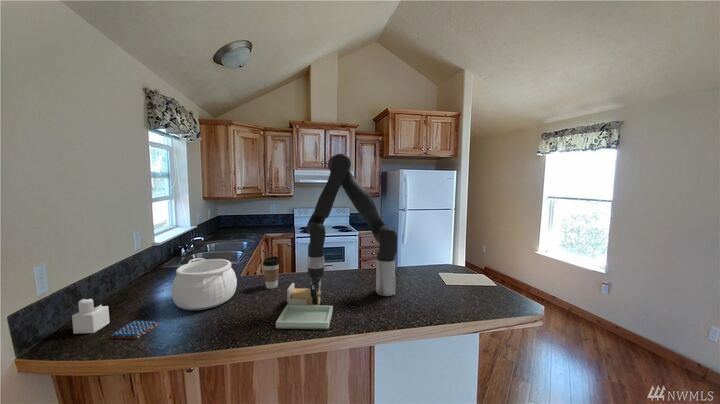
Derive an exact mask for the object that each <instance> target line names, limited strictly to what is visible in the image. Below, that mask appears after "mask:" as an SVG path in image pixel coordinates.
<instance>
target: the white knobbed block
mask: <svg viewBox="0 0 720 404" xmlns="http://www.w3.org/2000/svg"><path fill="white" fill-rule="evenodd" d="M109 311H110V310H109V305H102V296H100V295H92V296H87V297H83V298H82V299H80V300H79V301H78V312H76V313H74V314H72V315H71V319H72V330H73V331H72V332H73V334H75V335H77V334H94V333H96V332H98V331H99V330H101V329H103V328H104V327H106V326H107V325H108V324H110V312H109Z"/></svg>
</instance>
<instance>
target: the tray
mask: <svg viewBox="0 0 720 404" xmlns="http://www.w3.org/2000/svg"><path fill="white" fill-rule="evenodd" d="M333 312H334V306H333V305H320V304H319V305H288V304H287V305H286V306H285V307H284V308H283V310H282V312H281V313H280V315H279V316H278V318H277V320H276V321H275V329H281V330H282V329H284V330H285V329H289V330H290V329H291V330H292V329H294V330H296V329H297V330H299V329H300V330H329V328H330V324H331V319H332V316H333Z"/></svg>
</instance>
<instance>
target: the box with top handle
mask: <svg viewBox="0 0 720 404" xmlns="http://www.w3.org/2000/svg"><path fill="white" fill-rule="evenodd" d="M322 293H323V292H322V291H321V288H320V289H319V291H318V303H317V305H320V304H321V295H322ZM313 294H315V293H313ZM292 299H307V305H313V304H312V297H311V290H310V288H296V287H295V289H294V290H293V292H292Z"/></svg>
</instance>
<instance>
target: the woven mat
mask: <svg viewBox="0 0 720 404" xmlns="http://www.w3.org/2000/svg"><path fill="white" fill-rule="evenodd" d="M158 325H159V321H158V320H136V319H135V320H134V321H131V322H130V323H128V324H126V325H124V326H123V327H121V328H120V329H118V330H117V331H115V332H113V333H112V334H111V335H110V338H112V339H137V340H138V339H139V338H140V337H142V335H145V334H146V333H147V332H150V330H152V329H154V327H157V326H158Z"/></svg>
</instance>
